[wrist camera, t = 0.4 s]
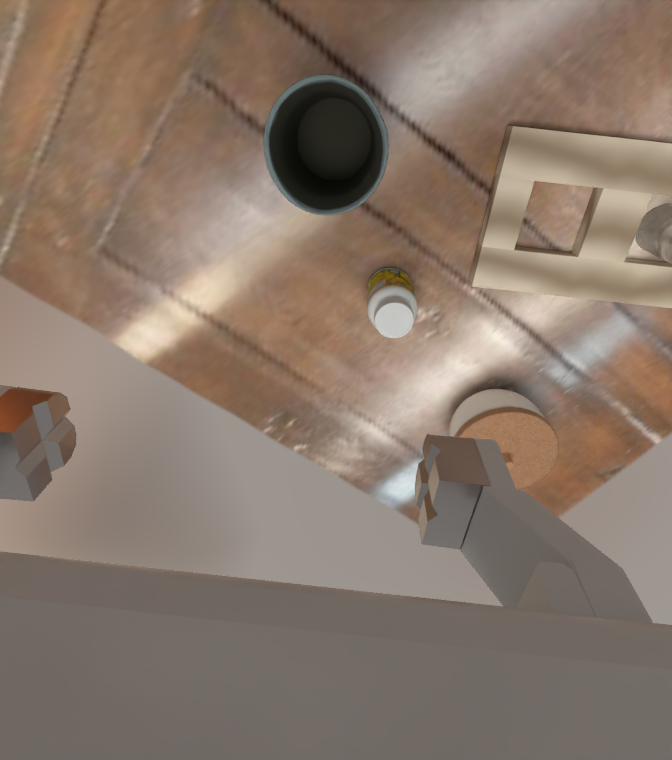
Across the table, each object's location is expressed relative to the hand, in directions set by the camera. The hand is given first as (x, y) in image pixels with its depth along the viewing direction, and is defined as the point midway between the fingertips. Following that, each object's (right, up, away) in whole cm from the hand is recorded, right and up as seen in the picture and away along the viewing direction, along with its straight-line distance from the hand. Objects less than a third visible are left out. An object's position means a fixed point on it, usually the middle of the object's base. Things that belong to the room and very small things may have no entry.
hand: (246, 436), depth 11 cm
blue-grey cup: (+2, +26, +37) cm, 45 cm away
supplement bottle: (+8, +12, +45) cm, 47 cm away
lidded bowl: (+23, -3, +53) cm, 58 cm away
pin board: (+31, +18, +39) cm, 53 cm away
